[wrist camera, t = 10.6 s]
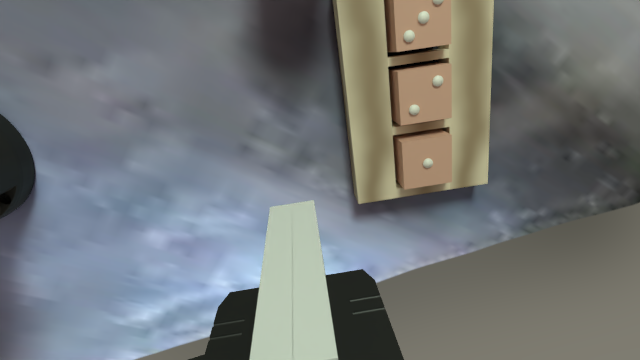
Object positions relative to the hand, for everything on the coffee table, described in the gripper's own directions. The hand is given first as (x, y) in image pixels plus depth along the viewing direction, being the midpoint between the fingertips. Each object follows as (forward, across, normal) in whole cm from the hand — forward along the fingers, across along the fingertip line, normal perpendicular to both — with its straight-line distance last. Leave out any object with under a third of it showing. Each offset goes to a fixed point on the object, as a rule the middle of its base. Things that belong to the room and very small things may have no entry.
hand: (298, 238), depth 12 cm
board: (+30, +14, 0) cm, 33 cm away
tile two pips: (+30, +14, 0) cm, 33 cm away
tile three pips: (+30, +14, +8) cm, 34 cm away
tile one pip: (+30, +14, -8) cm, 34 cm away
